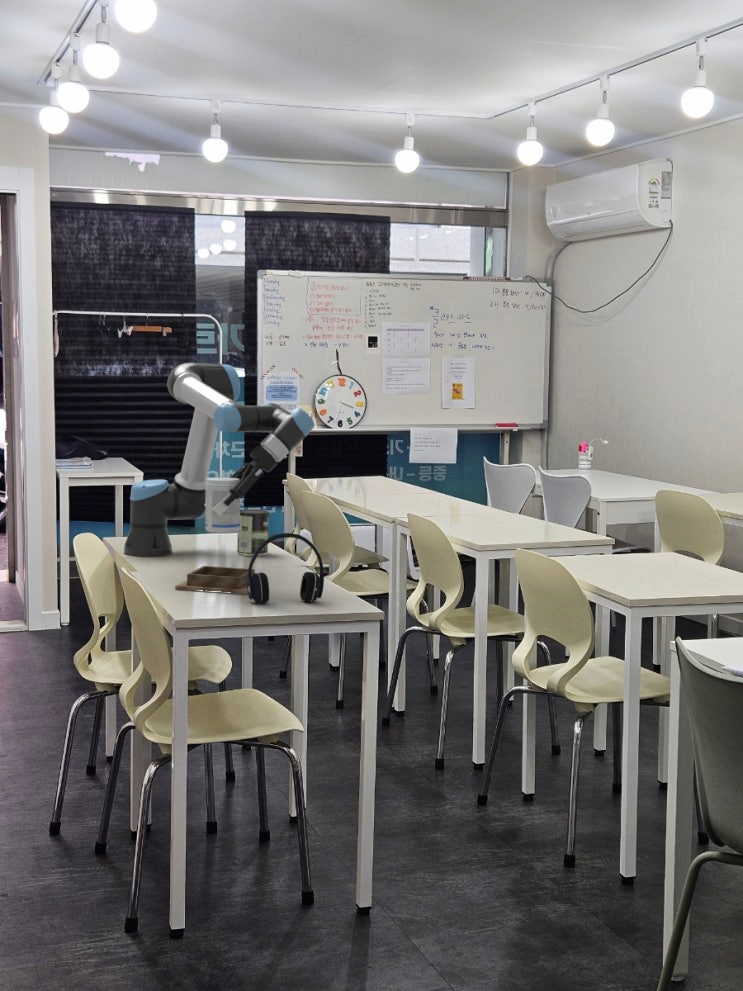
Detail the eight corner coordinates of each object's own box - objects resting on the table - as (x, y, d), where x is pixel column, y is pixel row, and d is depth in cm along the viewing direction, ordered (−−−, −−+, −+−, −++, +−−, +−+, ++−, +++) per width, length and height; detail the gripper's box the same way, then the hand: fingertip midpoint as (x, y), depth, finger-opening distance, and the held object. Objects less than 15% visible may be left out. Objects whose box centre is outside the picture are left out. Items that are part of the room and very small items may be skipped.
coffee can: (269, 552, 392) (270, 510, 390) (265, 556, 382) (267, 513, 380) (238, 550, 392) (239, 508, 391) (234, 555, 382) (235, 512, 380)
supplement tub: (246, 531, 327) (248, 479, 326) (223, 535, 320) (224, 481, 318) (221, 528, 333) (222, 476, 331) (197, 531, 325) (198, 478, 324)
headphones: (318, 599, 315) (320, 531, 313) (325, 604, 308) (327, 535, 307) (244, 600, 309) (246, 531, 307) (250, 606, 302) (252, 535, 300)
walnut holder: (175, 589, 319) (175, 575, 319) (197, 577, 339) (198, 563, 339) (246, 594, 316) (247, 580, 316) (265, 582, 336) (265, 568, 336)
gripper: (289, 466, 319) (230, 525, 315) (267, 460, 340) (211, 514, 336) (270, 447, 317) (211, 505, 313) (249, 441, 338) (193, 496, 334)
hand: (211, 510), depth 325 cm, fingers closed on supplement tub, 9 cm apart
